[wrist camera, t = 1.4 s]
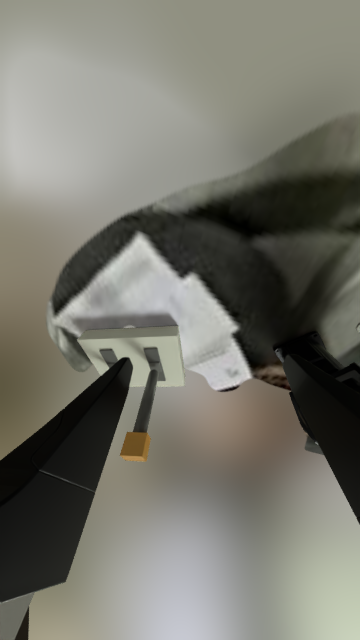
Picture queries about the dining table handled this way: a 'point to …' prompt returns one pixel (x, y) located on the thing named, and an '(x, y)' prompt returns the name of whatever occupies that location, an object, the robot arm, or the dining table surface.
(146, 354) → the breaker panel
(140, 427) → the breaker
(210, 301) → the dining table surface
